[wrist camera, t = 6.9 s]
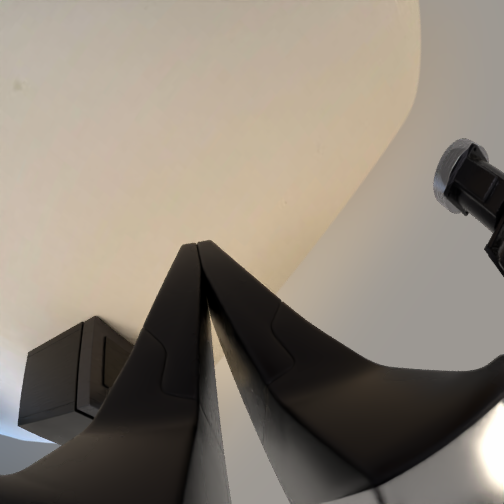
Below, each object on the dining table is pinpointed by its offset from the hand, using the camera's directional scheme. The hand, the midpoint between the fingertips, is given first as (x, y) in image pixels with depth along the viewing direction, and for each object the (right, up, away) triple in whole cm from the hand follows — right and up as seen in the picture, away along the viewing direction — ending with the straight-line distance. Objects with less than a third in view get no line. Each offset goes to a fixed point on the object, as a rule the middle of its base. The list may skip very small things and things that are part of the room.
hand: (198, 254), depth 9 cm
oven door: (-10, -9, +18) cm, 22 cm away
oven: (-16, -12, +18) cm, 27 cm away
